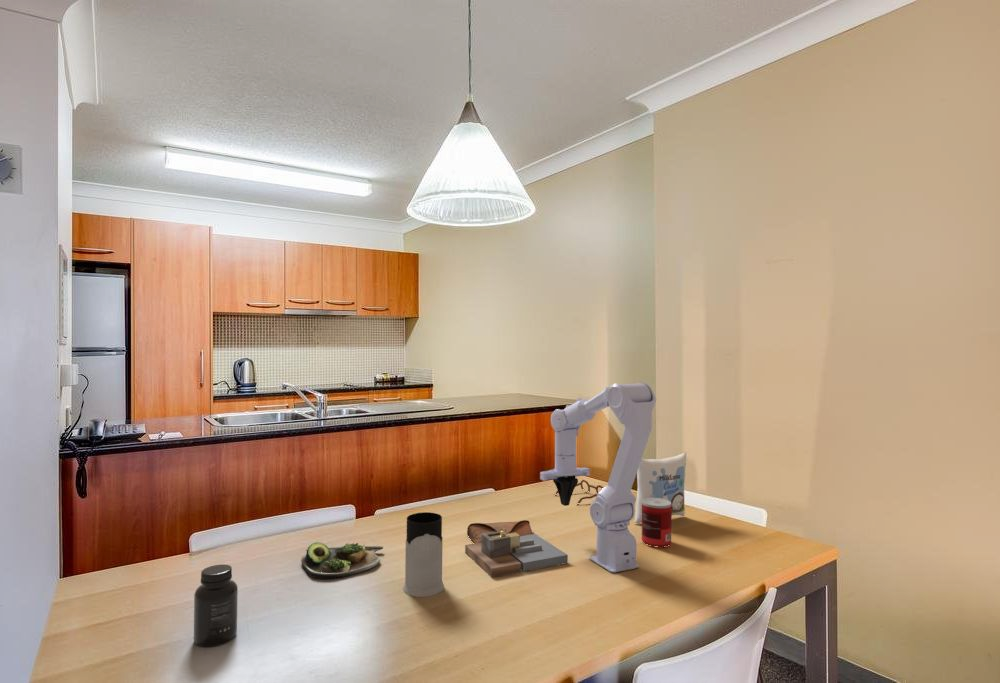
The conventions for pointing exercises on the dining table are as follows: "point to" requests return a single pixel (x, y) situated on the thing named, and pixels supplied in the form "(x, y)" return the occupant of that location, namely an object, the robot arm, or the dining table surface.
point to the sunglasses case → (498, 529)
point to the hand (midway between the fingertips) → (565, 504)
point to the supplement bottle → (215, 607)
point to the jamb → (494, 555)
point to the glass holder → (423, 555)
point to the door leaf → (537, 553)
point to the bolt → (514, 539)
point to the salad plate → (338, 559)
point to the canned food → (656, 521)
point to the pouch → (662, 482)
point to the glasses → (588, 490)
